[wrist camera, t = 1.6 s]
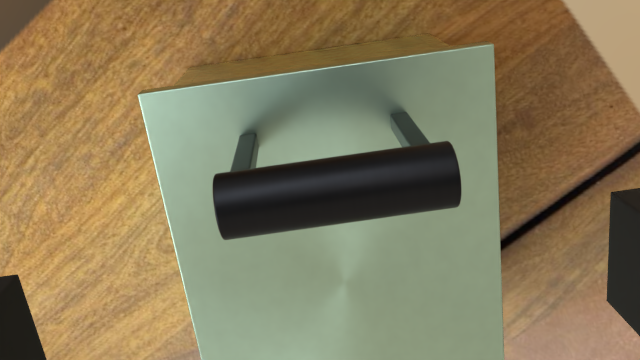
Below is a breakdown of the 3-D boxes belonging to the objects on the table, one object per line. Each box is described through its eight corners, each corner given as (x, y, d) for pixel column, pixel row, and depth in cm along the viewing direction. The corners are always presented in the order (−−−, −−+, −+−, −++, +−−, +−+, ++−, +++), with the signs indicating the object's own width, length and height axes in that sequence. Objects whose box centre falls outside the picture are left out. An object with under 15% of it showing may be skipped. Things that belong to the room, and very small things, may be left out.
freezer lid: (141, 89, 24) (72, 153, 16) (488, 40, 24) (583, 81, 16) (228, 457, 31) (208, 627, 23) (501, 418, 31) (574, 576, 23)
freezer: (188, 67, 35) (147, 114, 25) (429, 33, 35) (488, 65, 25) (243, 331, 41) (228, 456, 31) (448, 302, 41) (501, 418, 31)
